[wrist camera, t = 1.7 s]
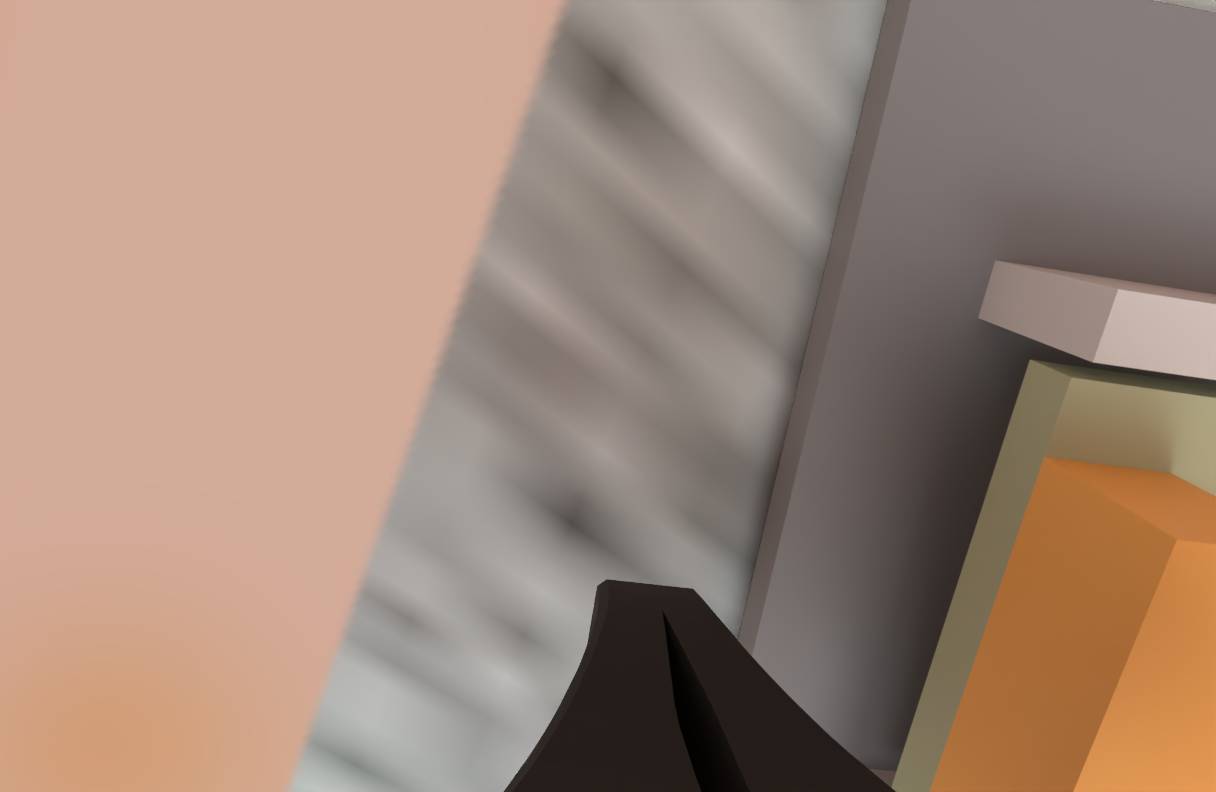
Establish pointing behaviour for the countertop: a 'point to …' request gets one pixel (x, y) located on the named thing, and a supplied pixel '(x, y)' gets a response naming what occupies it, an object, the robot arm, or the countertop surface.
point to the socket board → (974, 314)
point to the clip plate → (1083, 600)
